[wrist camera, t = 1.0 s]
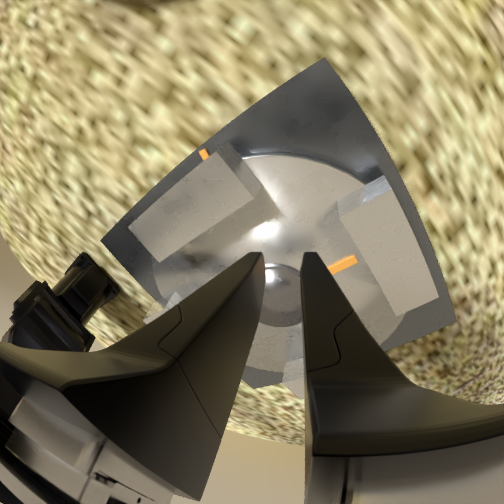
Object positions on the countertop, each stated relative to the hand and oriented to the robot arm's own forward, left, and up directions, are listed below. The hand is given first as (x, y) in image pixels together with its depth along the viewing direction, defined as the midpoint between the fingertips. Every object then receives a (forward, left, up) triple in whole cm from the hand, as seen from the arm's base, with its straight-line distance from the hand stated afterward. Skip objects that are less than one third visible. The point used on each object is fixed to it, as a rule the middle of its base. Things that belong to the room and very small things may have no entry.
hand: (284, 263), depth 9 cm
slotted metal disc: (-7, -7, -11) cm, 15 cm away
